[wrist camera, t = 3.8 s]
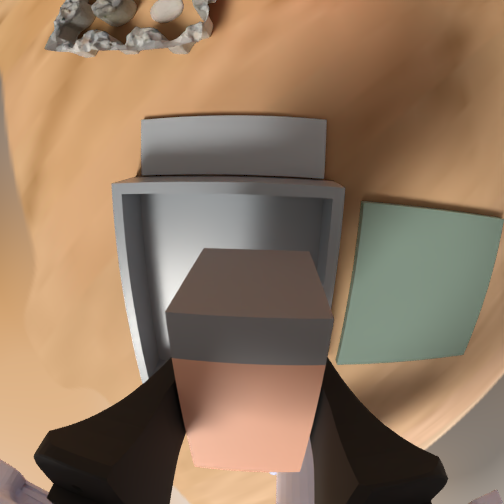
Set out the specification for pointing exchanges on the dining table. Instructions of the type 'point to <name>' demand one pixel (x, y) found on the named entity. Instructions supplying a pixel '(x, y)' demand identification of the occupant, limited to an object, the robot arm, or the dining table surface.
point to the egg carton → (118, 13)
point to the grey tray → (219, 208)
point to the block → (249, 357)
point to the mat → (416, 282)
